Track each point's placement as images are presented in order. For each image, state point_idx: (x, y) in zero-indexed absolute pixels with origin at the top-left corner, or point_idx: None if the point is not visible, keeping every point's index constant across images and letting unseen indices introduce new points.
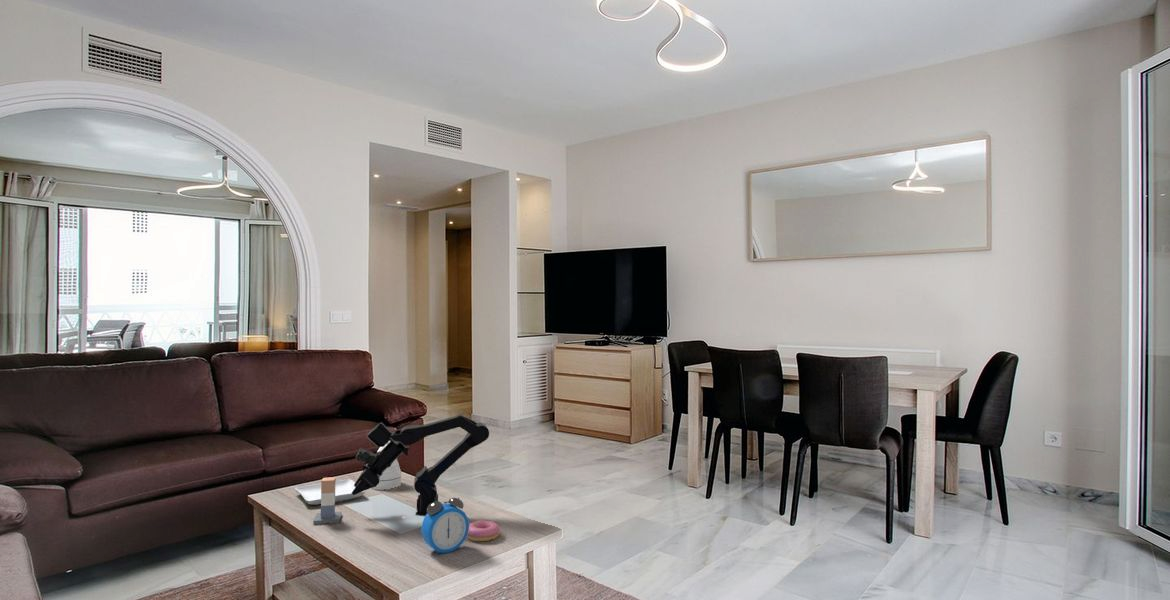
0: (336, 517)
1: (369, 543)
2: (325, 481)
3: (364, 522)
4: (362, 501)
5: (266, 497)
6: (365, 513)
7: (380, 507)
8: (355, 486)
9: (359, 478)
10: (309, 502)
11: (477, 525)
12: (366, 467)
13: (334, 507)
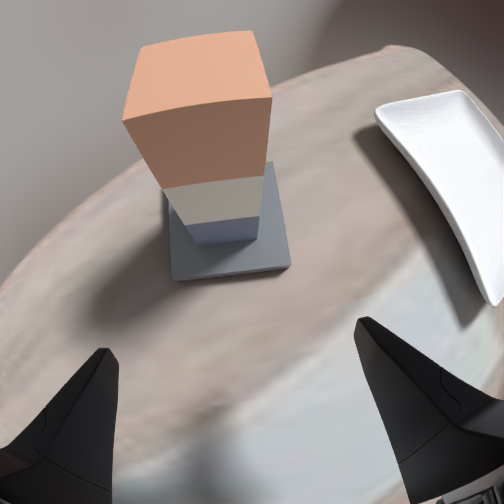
0: (198, 260)
1: (8, 400)
2: (136, 70)
3: (171, 394)
4: (452, 308)
5: (416, 57)
6: (303, 376)
7: (379, 414)
8: (355, 333)
9: (400, 377)
10: (375, 118)
11: None
12: (499, 466)
13: (233, 228)
